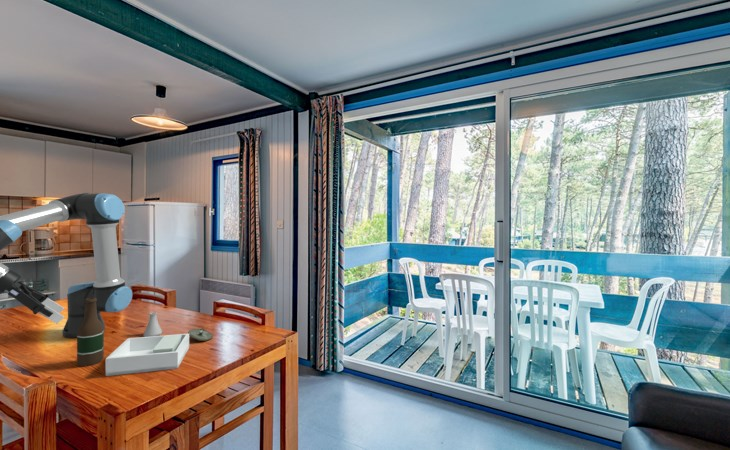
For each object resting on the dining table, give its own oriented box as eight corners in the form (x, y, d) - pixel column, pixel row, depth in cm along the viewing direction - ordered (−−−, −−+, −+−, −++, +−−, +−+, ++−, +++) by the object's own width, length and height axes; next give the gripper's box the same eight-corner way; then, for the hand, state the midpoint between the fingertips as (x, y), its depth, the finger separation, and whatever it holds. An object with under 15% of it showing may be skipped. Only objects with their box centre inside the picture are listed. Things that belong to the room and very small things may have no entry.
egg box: (163, 349, 134) (163, 336, 134) (181, 348, 136) (181, 334, 136) (152, 365, 120) (152, 350, 120) (172, 363, 122) (172, 348, 122)
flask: (153, 338, 150) (153, 316, 149) (139, 336, 151) (139, 314, 151) (165, 332, 157) (166, 311, 156) (152, 331, 158) (152, 310, 158)
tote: (128, 353, 133) (128, 338, 133) (189, 347, 139) (189, 333, 139) (105, 376, 114) (105, 358, 114) (177, 368, 120) (177, 352, 120)
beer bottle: (87, 358, 128) (87, 296, 127) (108, 357, 128) (108, 296, 128) (71, 367, 120) (71, 301, 119) (94, 366, 121) (94, 301, 120)
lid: (194, 335, 154) (194, 324, 154) (216, 334, 155) (216, 324, 155) (183, 343, 144) (183, 332, 144) (207, 343, 145) (207, 332, 144)
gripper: (-8, 281, 115) (51, 316, 125) (-22, 294, 97) (49, 334, 107) (14, 264, 118) (70, 300, 129) (5, 274, 100) (71, 314, 110)
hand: (61, 315), depth 118 cm, fingers open, 13 cm apart
